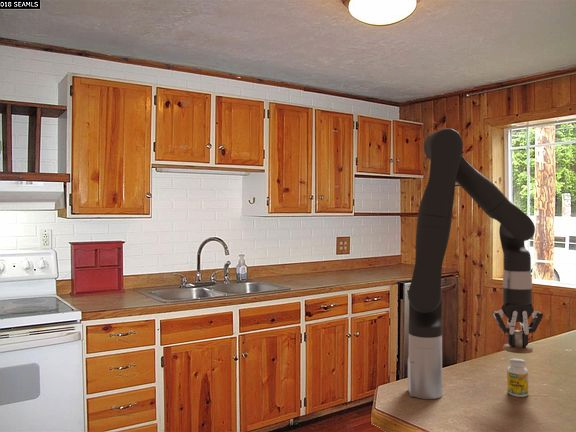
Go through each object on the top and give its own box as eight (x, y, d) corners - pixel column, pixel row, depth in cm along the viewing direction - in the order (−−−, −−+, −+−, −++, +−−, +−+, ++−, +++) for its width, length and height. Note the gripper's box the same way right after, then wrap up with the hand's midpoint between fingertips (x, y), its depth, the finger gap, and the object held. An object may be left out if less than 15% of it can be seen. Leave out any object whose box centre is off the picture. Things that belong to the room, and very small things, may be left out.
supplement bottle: (528, 392, 146) (528, 359, 145) (527, 398, 141) (527, 364, 141) (508, 389, 148) (508, 356, 148) (506, 395, 143) (506, 361, 143)
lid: (508, 353, 141) (508, 334, 141) (499, 345, 148) (499, 327, 148) (536, 353, 140) (536, 334, 140) (526, 346, 148) (526, 328, 148)
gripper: (495, 288, 141) (496, 350, 141) (548, 288, 140) (548, 351, 140) (488, 284, 148) (488, 343, 149) (538, 284, 147) (538, 343, 147)
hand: (517, 346), depth 144 cm, fingers closed on lid, 2 cm apart
